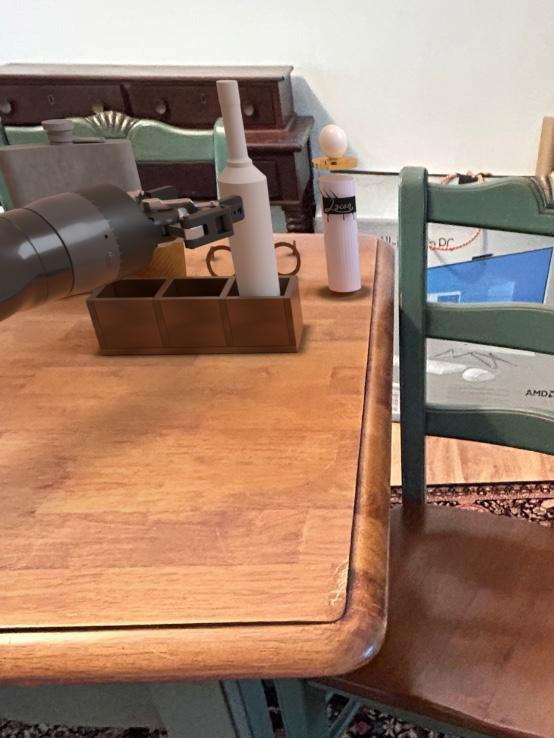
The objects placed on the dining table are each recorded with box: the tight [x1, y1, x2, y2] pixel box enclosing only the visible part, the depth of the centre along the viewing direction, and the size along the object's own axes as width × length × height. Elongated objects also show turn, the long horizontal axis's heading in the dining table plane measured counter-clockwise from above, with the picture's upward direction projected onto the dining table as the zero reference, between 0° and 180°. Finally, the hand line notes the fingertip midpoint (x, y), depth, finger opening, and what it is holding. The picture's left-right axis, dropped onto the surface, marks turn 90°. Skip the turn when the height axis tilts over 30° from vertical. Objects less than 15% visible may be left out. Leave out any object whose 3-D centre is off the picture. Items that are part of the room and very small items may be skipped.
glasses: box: [205, 239, 302, 276], centre depth 109 cm, size 13×13×5 cm
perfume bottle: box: [311, 123, 362, 293], centre depth 97 cm, size 6×6×20 cm
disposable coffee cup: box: [129, 208, 188, 277], centre depth 95 cm, size 10×10×12 cm
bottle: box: [215, 79, 280, 296], centre depth 81 cm, size 5×5×25 cm
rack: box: [85, 274, 305, 356], centre depth 87 cm, size 23×8×6 cm, turn 93°
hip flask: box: [0, 118, 143, 296], centre depth 97 cm, size 16×4×20 cm, turn 114°
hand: (207, 201), depth 75 cm, fingers open, 8 cm apart
